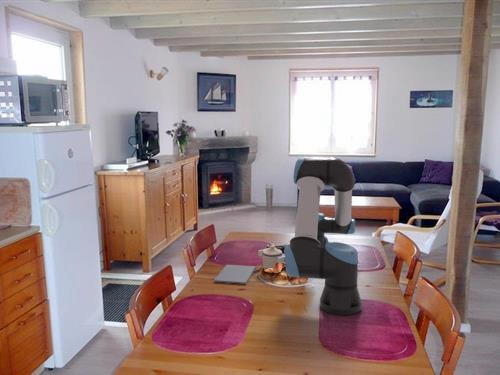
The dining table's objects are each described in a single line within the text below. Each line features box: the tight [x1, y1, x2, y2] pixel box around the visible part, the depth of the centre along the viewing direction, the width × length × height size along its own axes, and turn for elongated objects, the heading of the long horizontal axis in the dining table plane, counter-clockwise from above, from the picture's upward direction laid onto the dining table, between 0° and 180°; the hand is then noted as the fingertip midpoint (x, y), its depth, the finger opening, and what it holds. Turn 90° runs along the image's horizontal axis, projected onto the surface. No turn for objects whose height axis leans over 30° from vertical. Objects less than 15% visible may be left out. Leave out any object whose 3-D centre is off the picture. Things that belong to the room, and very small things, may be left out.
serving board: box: [213, 264, 257, 285], centre depth 195 cm, size 20×14×1 cm
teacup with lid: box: [262, 245, 283, 269], centre depth 201 cm, size 12×9×12 cm
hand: (268, 257), depth 199 cm, fingers open, 13 cm apart
